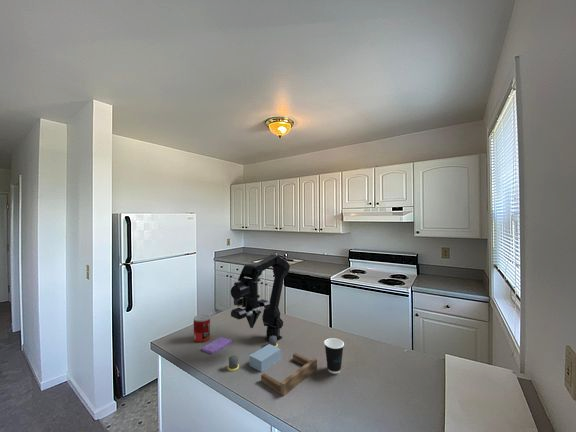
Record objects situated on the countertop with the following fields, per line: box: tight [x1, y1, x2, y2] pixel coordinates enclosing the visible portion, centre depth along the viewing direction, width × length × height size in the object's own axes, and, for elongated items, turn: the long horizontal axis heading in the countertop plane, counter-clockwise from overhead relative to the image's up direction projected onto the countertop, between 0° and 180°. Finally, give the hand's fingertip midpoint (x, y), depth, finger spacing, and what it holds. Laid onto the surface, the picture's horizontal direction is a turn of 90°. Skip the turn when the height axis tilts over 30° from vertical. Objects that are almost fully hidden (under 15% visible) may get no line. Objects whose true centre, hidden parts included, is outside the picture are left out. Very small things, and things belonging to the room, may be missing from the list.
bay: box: [260, 352, 318, 397], centre depth 99 cm, size 20×12×4 cm, turn 139°
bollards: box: [227, 336, 279, 372], centre depth 112 cm, size 28×5×4 cm, turn 139°
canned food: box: [193, 314, 211, 343], centre depth 128 cm, size 8×8×11 cm
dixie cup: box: [323, 337, 345, 375], centre depth 102 cm, size 8×8×11 cm
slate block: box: [248, 343, 282, 373], centre depth 108 cm, size 12×7×4 cm, turn 141°
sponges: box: [201, 336, 233, 355], centre depth 121 cm, size 7×13×2 cm, turn 150°
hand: (251, 327), depth 114 cm, fingers closed
